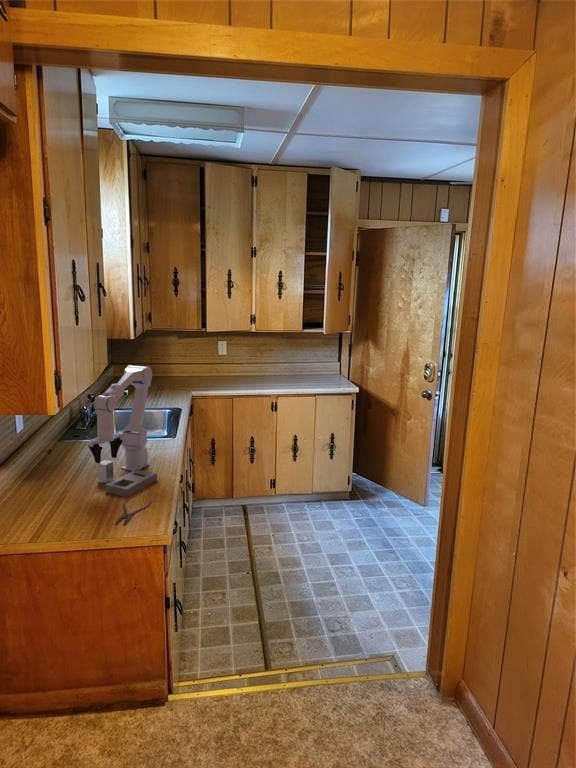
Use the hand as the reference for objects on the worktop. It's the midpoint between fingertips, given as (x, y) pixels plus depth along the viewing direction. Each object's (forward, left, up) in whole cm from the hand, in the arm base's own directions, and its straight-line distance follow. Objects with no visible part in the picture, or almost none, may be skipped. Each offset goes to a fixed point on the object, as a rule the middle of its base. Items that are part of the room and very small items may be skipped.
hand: (106, 460), depth 188 cm
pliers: (+13, +24, -11) cm, 30 cm away
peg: (-2, -3, -10) cm, 11 cm away
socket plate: (-3, +9, -10) cm, 14 cm away
